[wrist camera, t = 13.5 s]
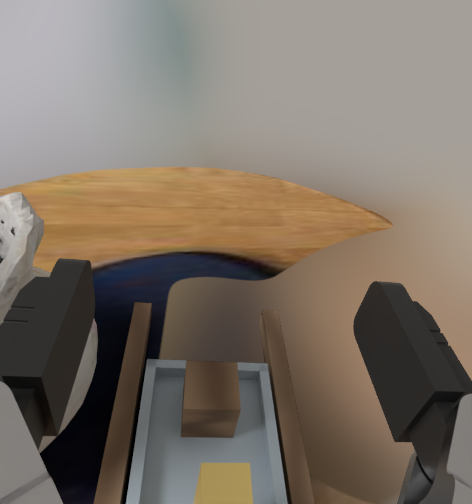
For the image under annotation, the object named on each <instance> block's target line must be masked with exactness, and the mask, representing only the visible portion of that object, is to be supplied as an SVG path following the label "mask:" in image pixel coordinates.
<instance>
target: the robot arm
mask: <svg viewBox="0 0 472 504" xmlns="http://www.w3.org/2000/svg"><path fill="white" fill-rule="evenodd" d="M94 313H95V296H94V287H93V278H92V269H91V263H90V261H89V260H76V259H62V258H60V259H58V261H57V262H56V264H55V266H54V268H53V270H52V272H51V275H50V277H38V276H36V277H35V278H33V279H32V280H31V281H30V282H29V283H27V284H26V285H25V286H24V287H23V288H21V289H20V290H19V292H18V294H17V296H16V298H15V299H14V301H13V303H12V305H11V309H9V310H8V312H7V314H6V316H5V318H4V319H3V320H4V321H3V323H1V325H0V504H63V502H62V500H61V498H60V495H59V493H58V491H57V489H56V487H55V484H54V482H53V480H52V478H51V476H50V474H49V473H48V472H47V470H46V467H45V465H44V463H43V461H42V459H41V456H40V454H39V452H38V450H39V447H40V444H41V441H42V438H43V436H58V434H59V431H60V428H61V424H62V421H63V418H64V415H65V411H66V408H67V405H68V402H69V398H70V395H71V392H72V389H73V385H74V382H75V379H76V376H77V372H78V369H79V366H80V363H81V359H82V356H83V353H84V349H85V346H86V343H87V340H88V336H89V333H90V330H91V327H92V323H93V319H94ZM354 335H355V338H356V341H357V344H358V346H359V349H360V352H361V354H362V357H363V359H364V362H365V365H366V367H367V370H368V372H369V375H370V378H371V380H372V383H373V385H374V388H375V391H376V394H377V396H378V399H379V402H380V404H381V407H382V410H383V412H384V415H385V417H386V420H387V423H388V425H389V428H390V430H391V433H392V436H393V439H394V441H395V442H412V444H413V446H414V449H415V451H414V452H413V454H412V455H411V458H410V461H409V465H408V468H407V471H406V475H405V478H404V482H403V485H402V489H401V492H400V496H399V500H398V503H397V504H472V381H471V379H470V378H469V376H468V374H467V373H466V371H465V369H464V368H463V366H462V364H461V363H460V361H459V360H458V358H457V356H456V355H455V353H454V351H453V350H452V348H451V347H450V346H448V342H447V340H446V338H445V337H444V335H443V333H440V328H439V327H438V325H437V324H436V322H435V320H434V319H433V317H432V315H431V314H429V312H427V311H426V310H425V309H424V308H423V307H422V306H421V305H420V304H419V303H418V302H415V301H412V300H411V298H410V296H409V294H408V293H407V291H406V289H405V288H404V286H403V285H402V284H400V283H392V282H377V281H375V282H373V283H372V284H371V285H370V287H369V289H368V291H367V293H366V295H365V297H364V299H363V301H362V303H361V305H360V307H359V309H358V312H357V314H356V316H355V319H354Z"/></svg>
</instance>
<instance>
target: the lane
mask: <svg viewBox="0 0 472 504" xmlns="http://www.w3.org/2000/svg"><path fill="white" fill-rule="evenodd" d="M151 308H152V303H137V302H135V305H134V310H133V314H132V319H131V324H130V329H129V334H128V339H127V344H126V349H125V353H124V358H123V363H122V368H121V373H120V378H119V383H118V387H117V392H116V397H115V402H114V407H113V412H112V417H111V422H110V426H109V431H108V436H107V441H106V446H105V451H104V456H103V460H102V465H101V470H100V475H99V480H98V485H97V490H96V494H95V499H94V504H123V499H124V492H125V486H126V479H127V473H128V466H129V460H130V453H131V447H132V440H133V433H134V427H135V420H136V414H137V407H138V401H139V394H140V388H141V381H142V375H143V368H144V362H145V355H146V349H147V342H148V335H149V329H150V322H151ZM259 324H260V330H261V338H262V346H263V353H264V359H265V363H267V364H268V371H269V378H270V385H271V392H272V399H273V406H274V413H275V420H276V427H277V434H278V440H279V447H280V454H281V461H282V468H283V475H284V482H285V489H286V496H287V503H288V504H315V500H314V495H313V490H312V485H311V479H310V474H309V470H308V465H307V459H306V454H305V449H304V443H303V438H302V433H301V428H300V423H299V418H298V412H297V408H296V403H295V397H294V392H293V387H292V381H291V376H290V371H289V366H288V361H287V356H286V350H285V345H284V340H283V335H282V330H281V325H280V319H279V314H278V311H277V310H276V311H275V310H262V314H261V318H260V322H259Z"/></svg>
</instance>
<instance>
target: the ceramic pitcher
mask: <svg viewBox="0 0 472 504" xmlns="http://www.w3.org/2000/svg"><path fill="white" fill-rule="evenodd" d="M43 232H44V220H43V219H41V218H40V217H38V216H37V214H36V213H35V211H34V209H33V208H32V206H31V205H30V203H29V202H28V200H27V198H26V197H25V196H24V195H23V194H22V193H20V192H14V193H11V194H7V195H3V196H0V325H1V323H3V321H4V320H3V319H4V318H5V316H6V314H7V312H8V310H9V309H11V305H12V303H13V301H14V299H15V298H16V296H17V294H18V292H19V290H20V289H21V288H23V287H24V286H25V285H26V284H27V283H29V282H30V281H31V280H32V279H33V278H35V277H36V276H38V277H50V275H51V273H49V272H47V271H45V270H43V269H40V268H37V267H33V266H32V265H33V259H34V255H35V253H36V250H37V248H38V246H39V244H40V241H41V239H42V237H43ZM97 345H98V336H97V325H96V322H95V319H93V323H92V327H91V330H90V333H89V336H88V340H87V343H86V346H85V349H84V353H83V356H82V359H81V363H80V366H79V369H78V372H77V376H76V379H75V382H74V385H73V389H72V392H71V395H70V398H69V402H68V405H67V408H66V411H65V415H64V418H63V421H62V424H61V428H60V431H59V434H60V433H61V432H62V431H63V430H64V429H65V428H66V426H67V425H68V423H69V422H70V421H71V419H72V418H73V417H74V415H75V414H76V412H77V411H78V410H79V408H80V407H81V405H82V403H83V401H84V398H85V396H86V394H87V391H88V389H89V386H90V384H91V381H92V378H93V374H94V370H95V366H96V363H97ZM59 434H58V435H59ZM56 437H57V436H43V438H42V441H41V444H40V447H39V450H38V452H39V453H41V452H42V451H43V450H44V449H45V448H46V447H47V446H48V445H49V444H50V443H51V442H52V441H53V440H54V439H55V438H56Z"/></svg>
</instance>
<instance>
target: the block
mask: <svg viewBox="0 0 472 504" xmlns="http://www.w3.org/2000/svg"><path fill="white" fill-rule="evenodd" d="M240 411H241V406H240V392H239V379H238V365H237V362H215V361H189V360H186V368H185V378H184V387H183V403H182V421H181V437H199V438H233V436H234V433H235V429H236V425H237V422H238V418H239V415H240Z"/></svg>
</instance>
